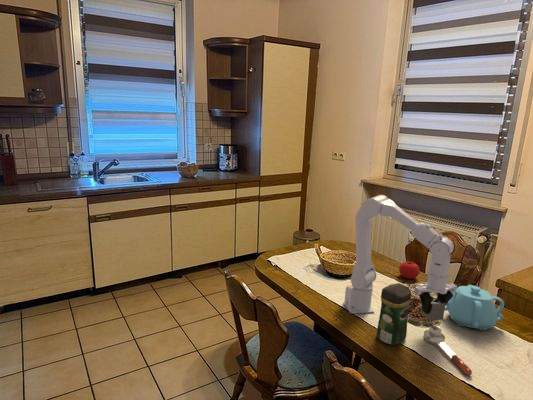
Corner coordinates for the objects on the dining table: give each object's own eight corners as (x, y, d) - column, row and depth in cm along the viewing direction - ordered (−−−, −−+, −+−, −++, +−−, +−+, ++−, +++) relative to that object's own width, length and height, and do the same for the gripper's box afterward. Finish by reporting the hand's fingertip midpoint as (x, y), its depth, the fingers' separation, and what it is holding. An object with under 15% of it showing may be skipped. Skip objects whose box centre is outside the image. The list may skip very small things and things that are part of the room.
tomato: (394, 276, 169) (396, 260, 167) (404, 271, 175) (406, 256, 173) (412, 283, 163) (414, 266, 161) (421, 278, 168) (424, 262, 167)
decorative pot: (468, 307, 144) (474, 275, 141) (506, 330, 129) (513, 294, 126) (435, 313, 139) (440, 280, 136) (470, 337, 124) (477, 300, 121)
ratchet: (419, 334, 124) (421, 322, 123) (437, 333, 125) (438, 321, 124) (459, 377, 104) (462, 364, 103) (479, 376, 105) (482, 363, 104)
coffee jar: (388, 327, 128) (395, 278, 123) (409, 339, 121) (416, 287, 117) (371, 336, 122) (377, 285, 118) (392, 349, 116) (399, 295, 111)
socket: (430, 320, 120) (432, 304, 119) (420, 313, 125) (422, 296, 124) (443, 319, 121) (445, 302, 120) (433, 311, 126) (435, 295, 125)
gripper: (426, 281, 114) (421, 320, 117) (466, 277, 117) (459, 315, 121) (412, 271, 121) (407, 308, 124) (450, 268, 124) (444, 305, 127)
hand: (432, 311), depth 123 cm, fingers closed on socket, 5 cm apart
